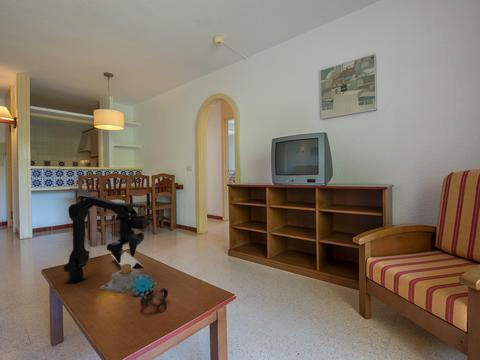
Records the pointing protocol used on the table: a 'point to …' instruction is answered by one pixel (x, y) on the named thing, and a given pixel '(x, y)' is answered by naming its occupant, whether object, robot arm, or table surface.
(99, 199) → the robot arm
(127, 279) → the bracket collar
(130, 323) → the table surface
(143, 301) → the dark brown loop tangle
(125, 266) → the wedge pin
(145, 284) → the gear
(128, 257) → the z bracket
